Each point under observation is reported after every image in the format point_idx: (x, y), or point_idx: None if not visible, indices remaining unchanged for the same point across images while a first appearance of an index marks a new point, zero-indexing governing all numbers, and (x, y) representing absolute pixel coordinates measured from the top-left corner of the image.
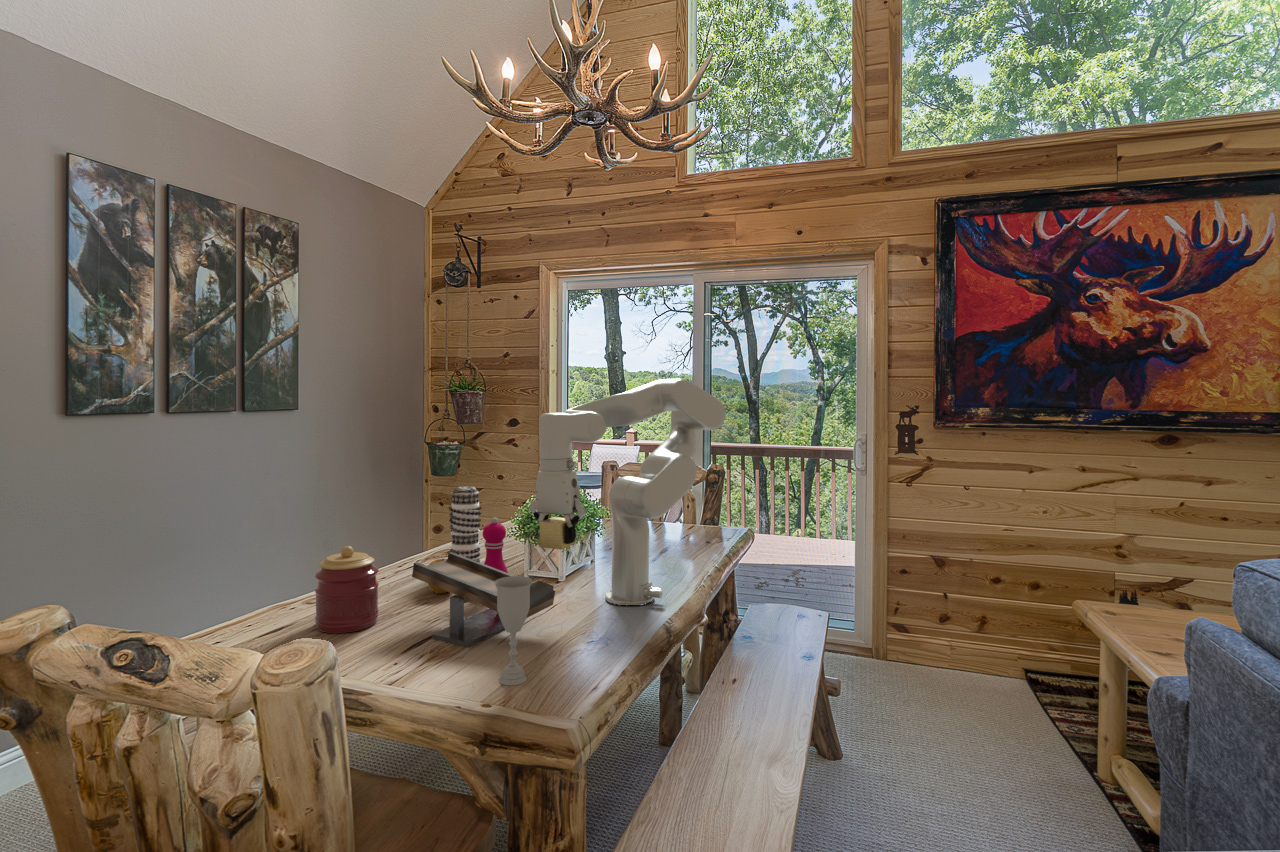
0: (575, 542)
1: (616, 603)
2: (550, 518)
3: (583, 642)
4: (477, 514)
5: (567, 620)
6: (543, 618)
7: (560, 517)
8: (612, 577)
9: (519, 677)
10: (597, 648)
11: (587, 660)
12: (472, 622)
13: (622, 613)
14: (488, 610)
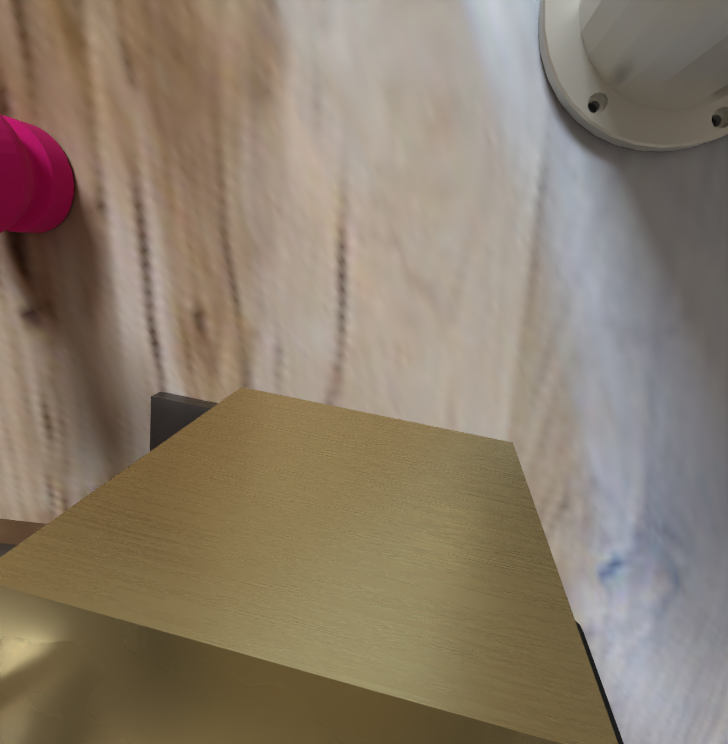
0: (514, 448)
1: (629, 147)
2: (22, 731)
3: (586, 578)
4: None
5: (460, 403)
6: (364, 408)
7: (159, 638)
8: (638, 9)
9: None
10: (648, 613)
11: (637, 692)
12: None
13: (677, 251)
14: (161, 432)
